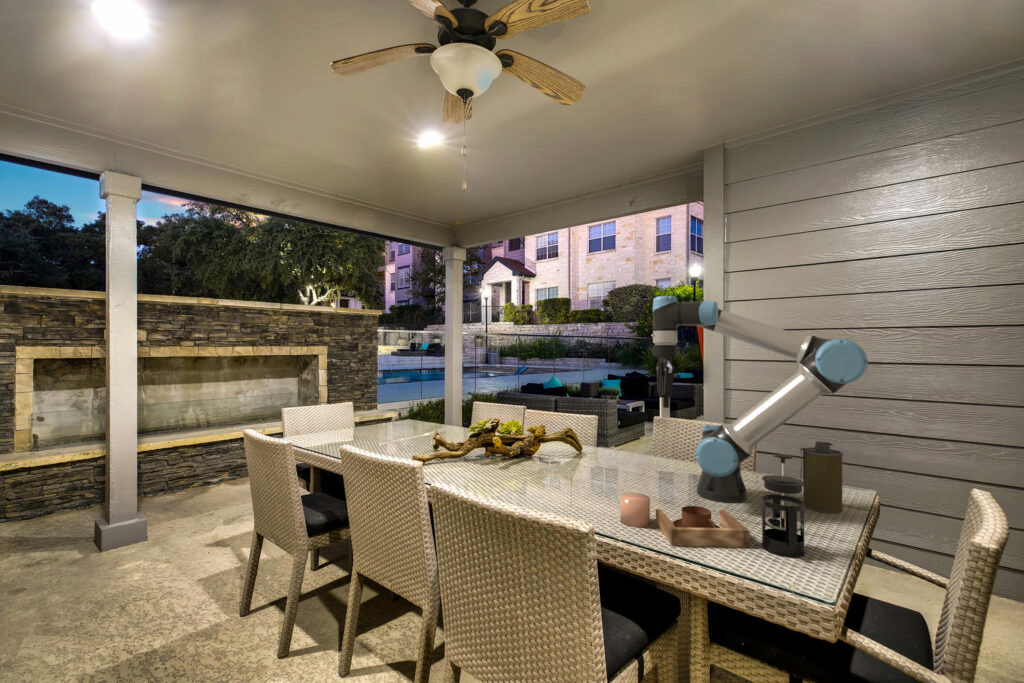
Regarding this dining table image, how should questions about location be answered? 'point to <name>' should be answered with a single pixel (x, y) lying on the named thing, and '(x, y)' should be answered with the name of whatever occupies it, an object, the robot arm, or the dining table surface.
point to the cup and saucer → (695, 518)
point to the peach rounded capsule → (635, 510)
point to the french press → (784, 529)
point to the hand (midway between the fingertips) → (664, 417)
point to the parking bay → (705, 532)
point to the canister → (822, 478)
